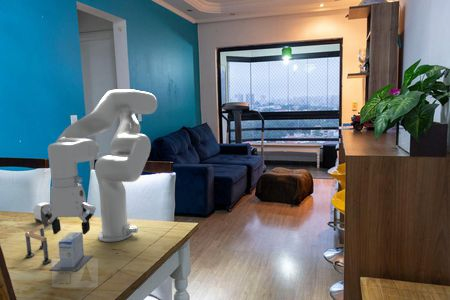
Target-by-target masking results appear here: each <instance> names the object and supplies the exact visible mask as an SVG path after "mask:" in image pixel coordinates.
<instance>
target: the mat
mask: <svg viewBox="0 0 450 300" xmlns="http://www.w3.org/2000/svg"><path fill="white" fill-rule="evenodd" d="M92 257H93V255H87V254H86V255H85V254H84V256H83V257H82V258H81V260H80V261H79V262H78V263H77V264H76V266H75V267H73V268H61V267H60V260H59V261H58V262H56V263H55V264H54V265H53V266H52V267H51V268H49V271H51V272H52V271H54V272H55V271H56V272H60V271H61V272H78V271H80V269H82V267H84V265H85V264H86V263H87V262H88V261H89V260H90V259H91V258H92ZM73 270H75V271H73Z"/></svg>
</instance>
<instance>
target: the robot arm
mask: <svg viewBox="0 0 450 300" xmlns="http://www.w3.org/2000/svg"><path fill="white" fill-rule="evenodd" d="M157 109H158V100H157V97H156V96H155V95H154V93H153V94H152V93H150V92H147V91H141V90H136V89H112V90H108V91H107V92H106V93H105V94H104V95H103V97H102V98H101V99H100V101H99V102H98V103H97V104H96V106H95V107H94V108H93V110H92V111H91V112H90V113H89V114H86V115H85V116H82V118H80V119H78V120H76V121H75V122H73V123H71V124H70V125H69V126H68V127H66V128H65V129H64V130H63V132H62V133H61V134H60V135H59V136H58V138H57V140H56V141H55V142H54V143H50V144H49V145H48V147H47V153H48V155H47V156H48V161H49V170H50V177H51V185H52V186H50V193H49V203H48V204H49V205H48V206H46V207H44V208H42V211H43V213H44V214H45V217H46V218H48V219H49V220H48V222H49V223H50V224H51V230H52V232H53V233H52V234H53V235H58V233H60V232H61V230H62V229H61V227H62V226H61V221H60V220H61V219H60V218H79V220H81V221H82V222H81V231H82V232H81V233H82V234H83V235H86V234H87V233H88V232H89V231H90V230H91V227H90V225H91V224H90V220H91V219H92V217H93V216H95V215H94V214H95V212H96V210H97V208H96V207H95V205H92V204H89V203H88V202H87V197H86V194H85V193H86V192H85V190H84V187H83V184H82V182H83V178H82V177H80V176H79V171H78V165H77V164H78V163H85V162H90V161H92V160H94V159H96V157H97V156H98V155H99V152H100V150H99V149H100V147H99V145H98V142H97V141H95V140H93V139H90V138H88V137H91V136H95V135H97V134H101V133H105V132H107V131H108V130H110V129H111V128H112V127H113V126H114V124H115V123H116V121H117V120H118V118H119V122H120V123H119V125H118V128H117V130H116V132H115V133H114V136H113V138H112V140H111V142H110V144H109V152H110V153H111V154H112V155H103V156H101V157H99V158H98V159H97V160H96V162H95V165H94V172H95V176H96V180H97V184H98V192H99V204H100V205H99V206H100V219H101V220H100V221H101V231H100V232H99V233H98V236H97V237H98V240H99V241H101V242H106V243H114V242H119V241H123V240H126V239H128V238H130V237H131V236H132V235H133V234H135V233H136V234H137V233H138V232H139V228H138V226H137V225H131V222H130V221H128V212H127V211H128V210H127V208H128V207H127V193H126V192H127V191H126V188H125V185H124V184H123V183H134V182H136V181H137V180H139V178H140V177H141V175H142V173H143V171H144V168H145V166H146V164H147V161H148V158H149V157H150V153H151V149H152V147H151V146H152V145H151V140H150V138H149V137H148V136H147V135H146V134H143V133H140V132H141V125H140V122H139V121H138V119H137V116H136V115H151V114H154V113H155V112H156V110H157ZM50 208H51V212H49V209H50ZM88 211H89V212H88ZM87 212H88V213H87Z"/></svg>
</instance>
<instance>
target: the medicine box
mask: <svg viewBox="0 0 450 300" xmlns="http://www.w3.org/2000/svg"><path fill="white" fill-rule="evenodd" d="M83 235H84V234H83V233H82V232H78V231H77V232H76V231H75V232H68V233H67V234H66V235H65V236H64V237H63V238H62V239H60V240H59V241H58V253H59V254H58V255H59V261H60V267H61V268H73V267H75V266H76V264H77V263H78V262H79V261H80V260H81V258H82V257H83V256H84V255H85V253H84V237H83Z"/></svg>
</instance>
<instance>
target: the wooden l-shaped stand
mask: <svg viewBox="0 0 450 300" xmlns="http://www.w3.org/2000/svg"><path fill="white" fill-rule="evenodd" d="M38 231H39V233H40V235H39V234H35V233H36V232H38ZM24 233H25V234H24V235H25V242H26V243H25V244H26V252H27V254H25V259H31V258H33V257H35V256H34V255H35V254H34V253H33V252H32V244H31V243H32V242H31V239H35V240H37V241H40V243H41V245H40V246H39V249H40V250H43V259H44V260H42V265H49V264H50V263H52V260H51V259H50V258H49V250H48V239H47V237H46V236H45V226H44V225H43V224H40V225H39V224H38V226H36V227H33V228H32V229H29V230H28V231H26V232H24Z"/></svg>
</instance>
